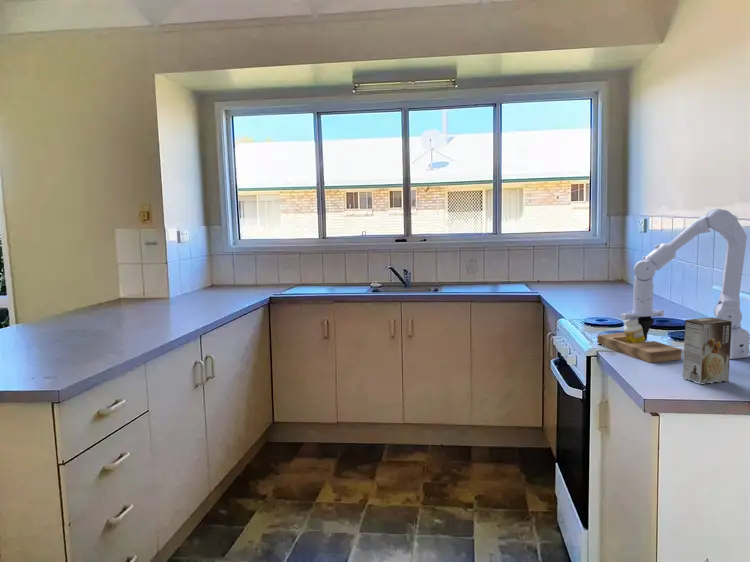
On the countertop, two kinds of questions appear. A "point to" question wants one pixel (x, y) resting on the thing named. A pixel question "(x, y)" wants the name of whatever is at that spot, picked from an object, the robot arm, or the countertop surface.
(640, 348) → the board
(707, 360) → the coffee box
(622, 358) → the countertop surface
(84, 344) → the countertop surface
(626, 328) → the supplement bottle
